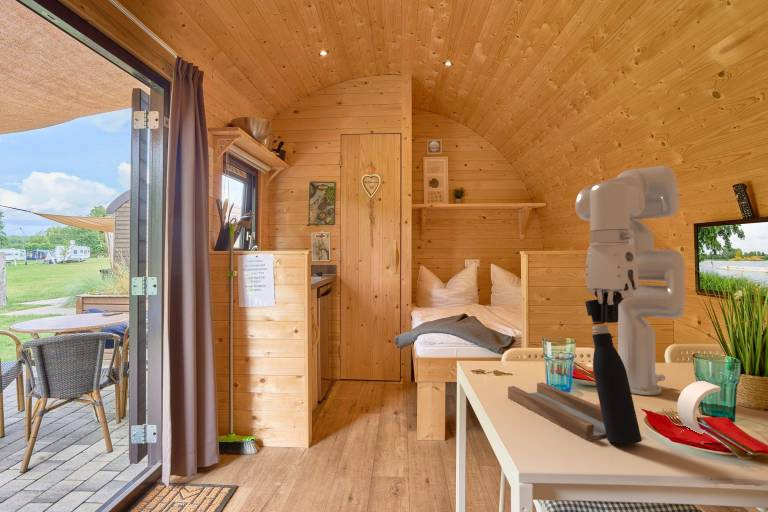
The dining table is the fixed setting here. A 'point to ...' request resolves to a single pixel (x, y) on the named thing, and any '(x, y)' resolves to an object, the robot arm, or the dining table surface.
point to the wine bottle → (612, 384)
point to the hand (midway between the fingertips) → (609, 321)
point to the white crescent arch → (693, 403)
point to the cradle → (562, 410)
